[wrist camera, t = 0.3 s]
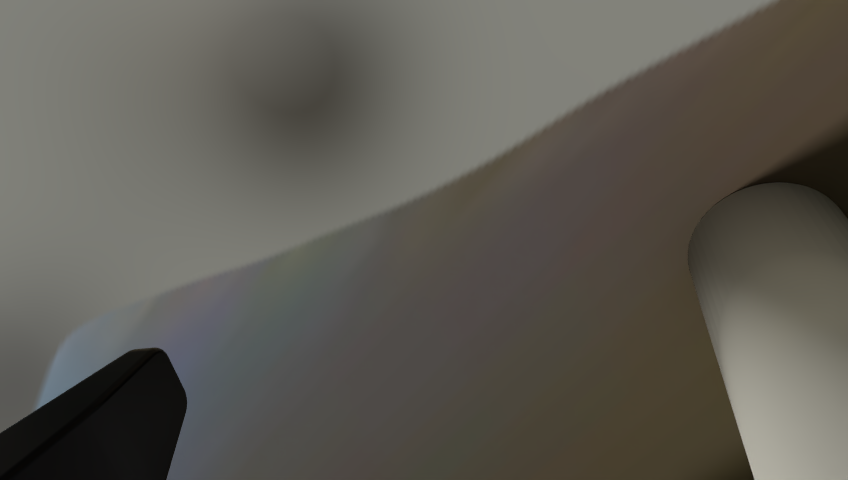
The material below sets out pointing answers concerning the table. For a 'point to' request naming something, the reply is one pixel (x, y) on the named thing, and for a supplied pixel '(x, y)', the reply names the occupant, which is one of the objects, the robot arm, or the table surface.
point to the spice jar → (779, 324)
